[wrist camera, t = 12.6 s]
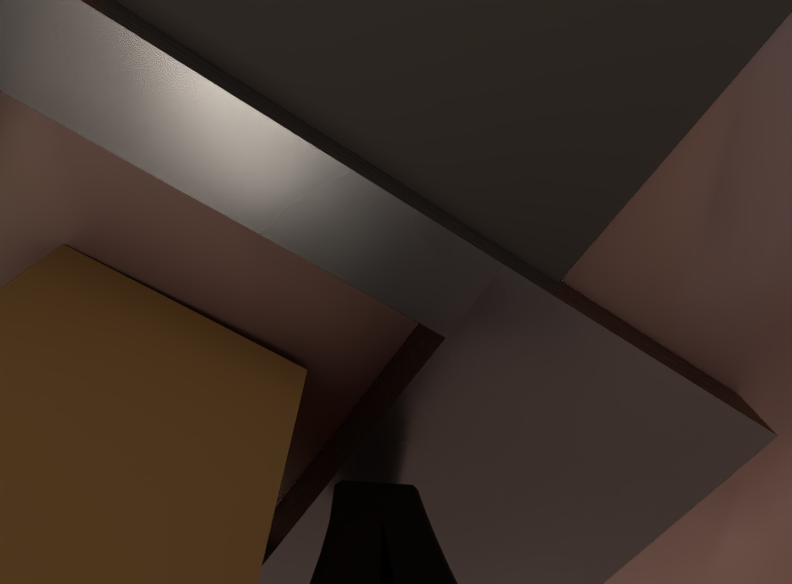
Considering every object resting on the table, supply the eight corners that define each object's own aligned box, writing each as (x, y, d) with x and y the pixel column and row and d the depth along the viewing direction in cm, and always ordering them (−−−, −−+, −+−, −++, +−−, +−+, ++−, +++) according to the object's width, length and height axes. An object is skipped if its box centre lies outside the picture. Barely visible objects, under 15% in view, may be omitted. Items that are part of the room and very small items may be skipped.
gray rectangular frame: (739, 395, 12) (852, 513, 9) (449, 657, 15) (469, 798, 13) (-50, -108, 7) (-289, -168, 4) (-203, 432, 11) (-388, 579, 8)
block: (307, 369, 10) (232, 692, 5) (202, 522, 12) (71, 878, 7) (63, 243, 9) (-308, 503, 4) (-17, 431, 11) (-352, 775, 6)
